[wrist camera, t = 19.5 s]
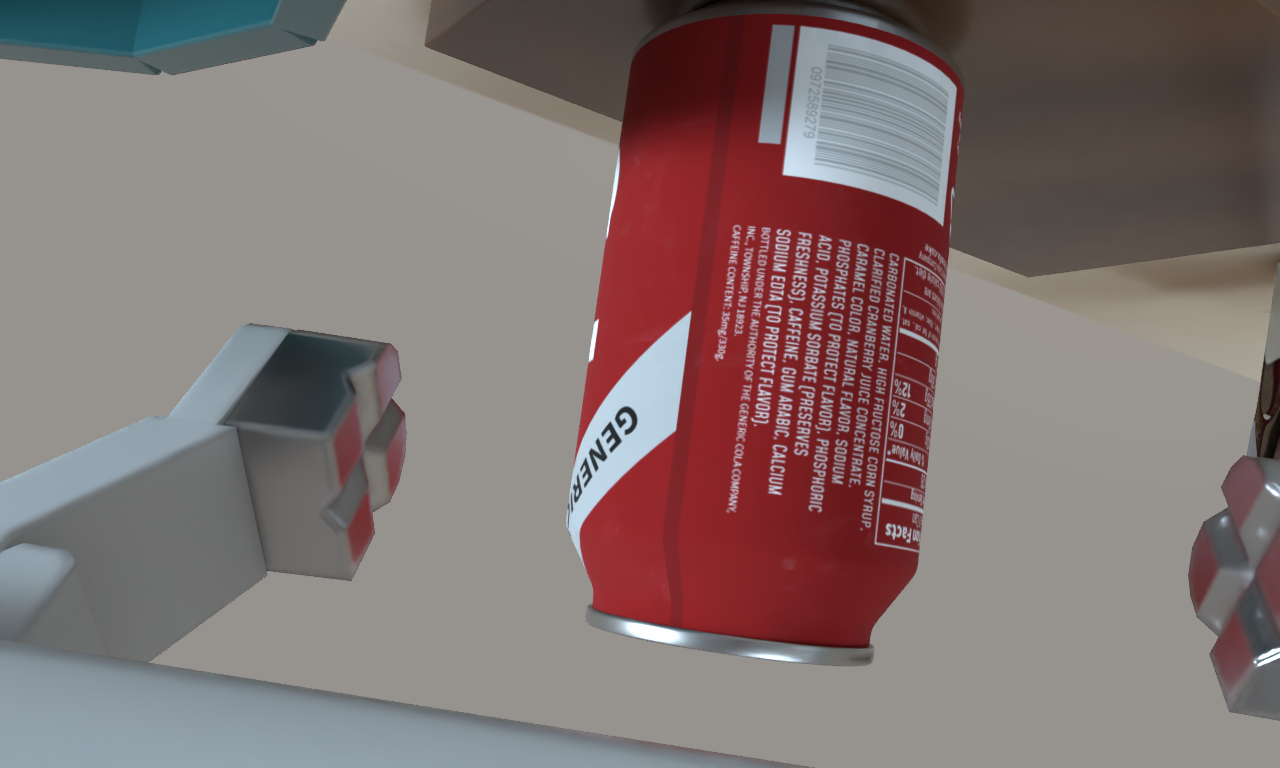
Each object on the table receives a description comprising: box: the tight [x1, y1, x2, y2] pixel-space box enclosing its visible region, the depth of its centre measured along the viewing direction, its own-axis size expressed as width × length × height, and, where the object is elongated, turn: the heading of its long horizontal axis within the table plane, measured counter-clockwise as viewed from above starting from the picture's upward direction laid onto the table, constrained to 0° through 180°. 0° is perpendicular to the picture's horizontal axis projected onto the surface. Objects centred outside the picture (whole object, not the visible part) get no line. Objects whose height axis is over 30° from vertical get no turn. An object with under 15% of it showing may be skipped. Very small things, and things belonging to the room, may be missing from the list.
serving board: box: [425, 0, 1280, 277], centre depth 26 cm, size 22×14×1 cm, turn 56°
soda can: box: [566, 0, 965, 666], centre depth 22 cm, size 7×7×12 cm
